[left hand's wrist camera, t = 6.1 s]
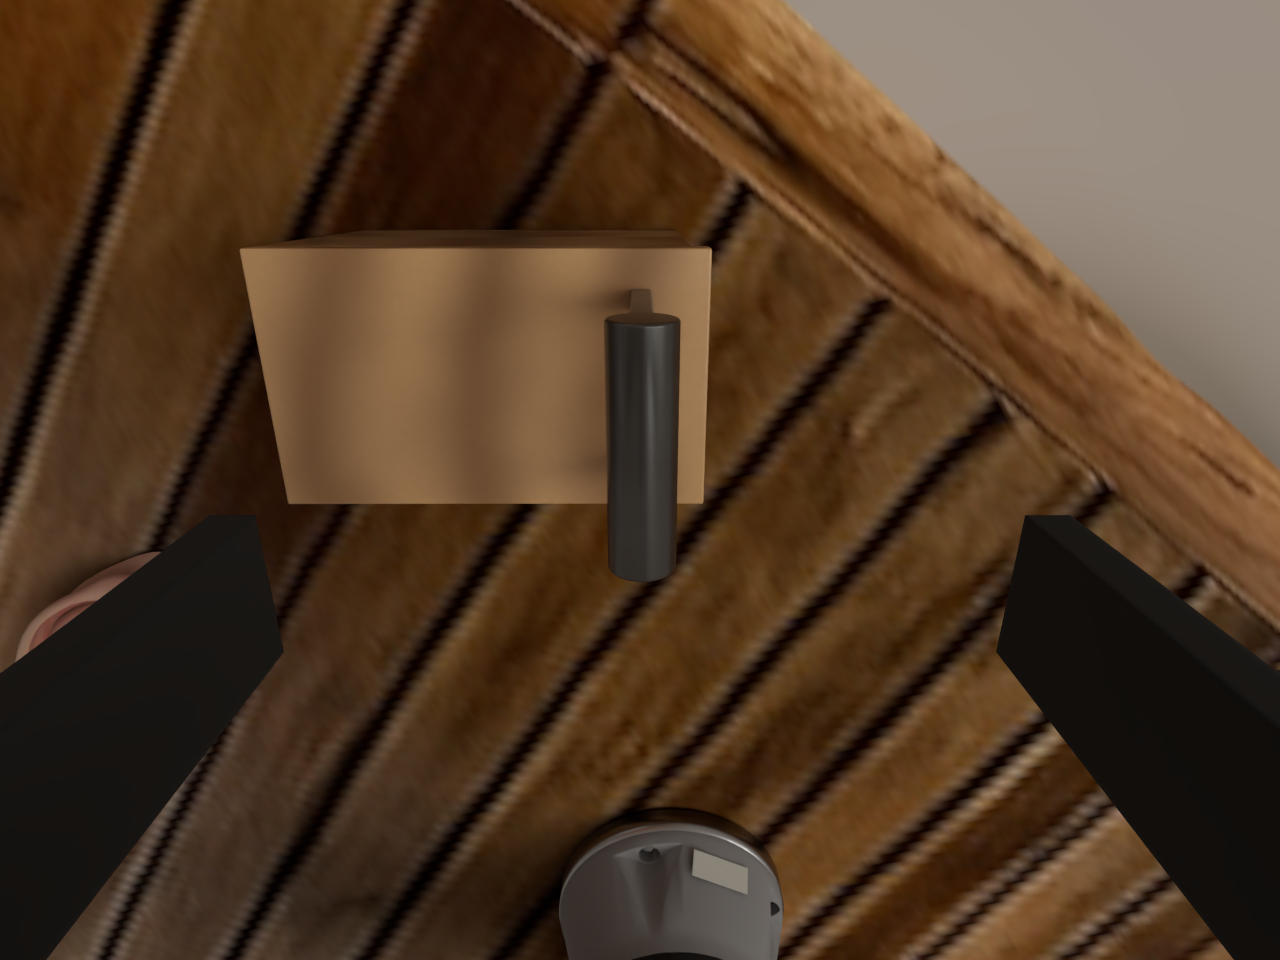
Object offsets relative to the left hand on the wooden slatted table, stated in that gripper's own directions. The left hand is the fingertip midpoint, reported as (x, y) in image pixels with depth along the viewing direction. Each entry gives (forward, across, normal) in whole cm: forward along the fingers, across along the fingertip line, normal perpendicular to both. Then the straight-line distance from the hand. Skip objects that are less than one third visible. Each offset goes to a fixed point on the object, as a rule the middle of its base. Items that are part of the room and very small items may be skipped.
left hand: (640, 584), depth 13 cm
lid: (+15, +5, 0) cm, 16 cm away
